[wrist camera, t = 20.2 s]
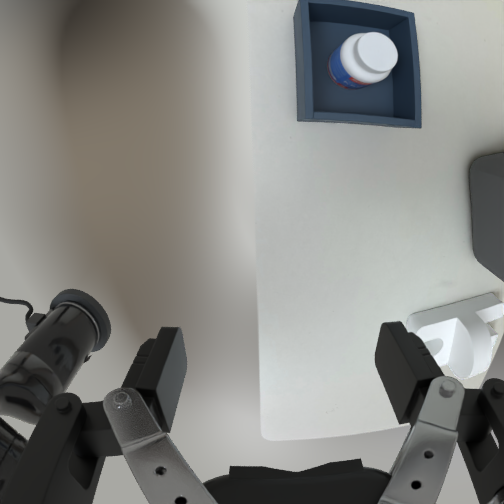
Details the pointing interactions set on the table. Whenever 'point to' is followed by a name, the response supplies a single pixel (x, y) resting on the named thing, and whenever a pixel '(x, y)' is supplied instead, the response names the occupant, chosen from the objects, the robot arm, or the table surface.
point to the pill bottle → (362, 60)
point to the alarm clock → (488, 211)
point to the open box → (367, 98)
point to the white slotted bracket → (460, 333)
